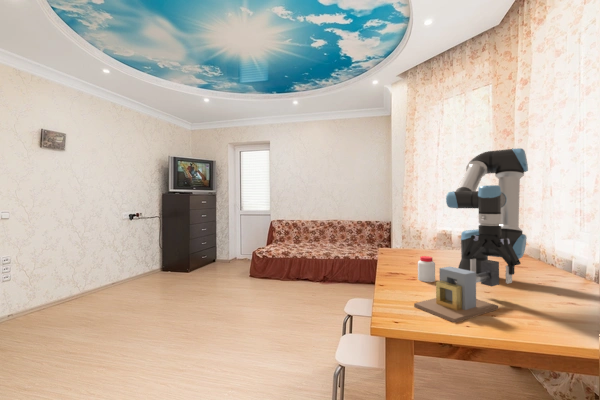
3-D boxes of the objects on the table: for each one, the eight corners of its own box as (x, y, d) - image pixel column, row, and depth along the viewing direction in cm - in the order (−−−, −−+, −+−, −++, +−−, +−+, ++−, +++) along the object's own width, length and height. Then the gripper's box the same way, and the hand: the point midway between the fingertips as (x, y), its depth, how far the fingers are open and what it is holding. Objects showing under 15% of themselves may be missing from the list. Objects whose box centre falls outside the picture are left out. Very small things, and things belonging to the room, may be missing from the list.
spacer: (441, 302, 109) (441, 280, 109) (462, 309, 101) (462, 286, 101) (436, 303, 107) (436, 281, 107) (456, 310, 100) (456, 287, 100)
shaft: (488, 282, 118) (488, 259, 118) (499, 284, 115) (499, 261, 115) (450, 291, 108) (450, 266, 108) (460, 294, 104) (460, 268, 104)
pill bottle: (437, 282, 138) (436, 259, 138) (419, 281, 139) (419, 258, 139) (433, 278, 145) (432, 255, 145) (416, 277, 147) (416, 255, 147)
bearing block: (456, 295, 119) (456, 262, 119) (498, 309, 104) (498, 271, 104) (414, 306, 108) (413, 269, 108) (454, 322, 94) (454, 280, 93)
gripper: (454, 222, 125) (454, 272, 125) (520, 227, 103) (520, 288, 103) (465, 222, 128) (465, 270, 128) (531, 226, 106) (531, 285, 106)
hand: (490, 278), depth 116 cm, fingers open, 13 cm apart
